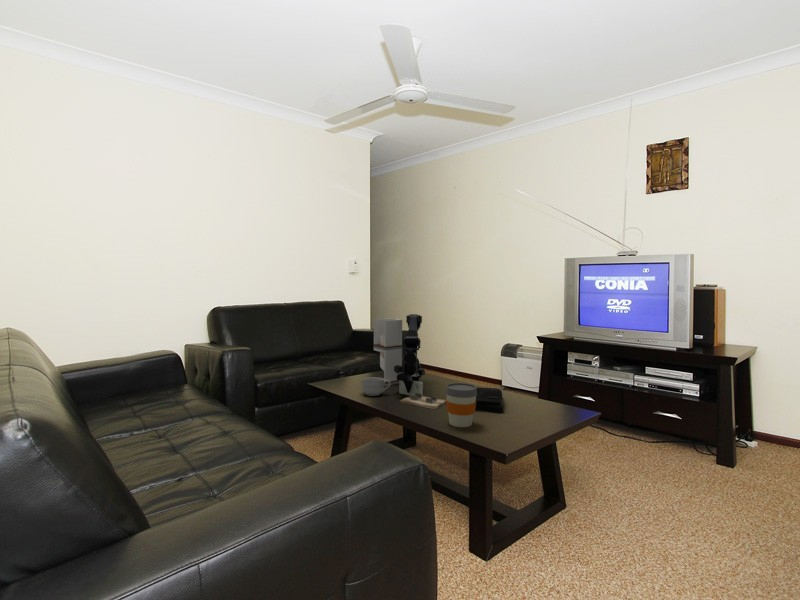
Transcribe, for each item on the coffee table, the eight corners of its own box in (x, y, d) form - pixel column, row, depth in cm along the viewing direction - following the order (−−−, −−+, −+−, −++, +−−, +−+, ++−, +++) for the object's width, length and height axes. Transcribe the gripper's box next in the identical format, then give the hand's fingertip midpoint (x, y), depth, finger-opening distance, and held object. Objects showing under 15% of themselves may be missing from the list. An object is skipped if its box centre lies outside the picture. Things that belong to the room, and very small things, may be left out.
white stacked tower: (389, 379, 249) (390, 318, 247) (401, 382, 241) (402, 319, 239) (373, 382, 242) (373, 319, 240) (385, 386, 234) (385, 320, 232)
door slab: (401, 392, 222) (401, 378, 221) (422, 396, 216) (422, 382, 215) (398, 393, 219) (398, 380, 219) (419, 397, 213) (419, 383, 213)
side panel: (413, 396, 214) (413, 390, 213) (446, 402, 204) (446, 396, 204) (400, 402, 203) (400, 395, 203) (435, 409, 194) (435, 402, 194)
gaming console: (503, 414, 189) (503, 398, 189) (457, 411, 193) (458, 395, 193) (502, 398, 215) (502, 384, 215) (462, 395, 219) (462, 381, 219)
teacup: (359, 396, 213) (359, 380, 212) (366, 391, 223) (366, 375, 223) (386, 398, 209) (387, 382, 209) (392, 393, 220) (392, 377, 220)
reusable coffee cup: (477, 420, 180) (478, 384, 179) (474, 430, 168) (475, 391, 167) (447, 417, 184) (448, 381, 183) (442, 426, 171) (443, 389, 171)
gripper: (406, 355, 229) (406, 385, 230) (387, 361, 213) (387, 393, 214) (425, 358, 223) (425, 388, 224) (407, 364, 207) (406, 396, 208)
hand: (410, 391), depth 218 cm, fingers open, 5 cm apart
